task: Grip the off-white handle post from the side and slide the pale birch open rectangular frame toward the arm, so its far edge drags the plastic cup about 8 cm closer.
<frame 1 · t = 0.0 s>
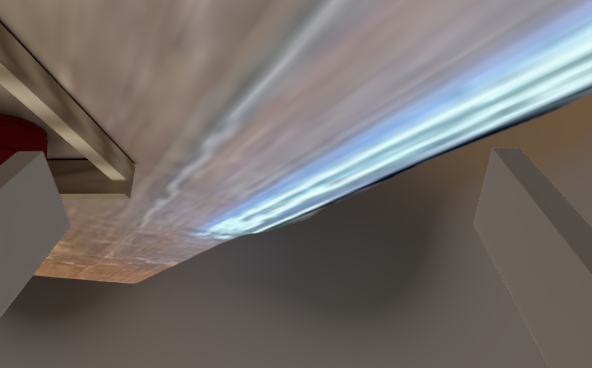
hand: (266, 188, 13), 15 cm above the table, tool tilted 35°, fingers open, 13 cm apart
plastic cup: (14, 126, 41), resting in open rectangular frame
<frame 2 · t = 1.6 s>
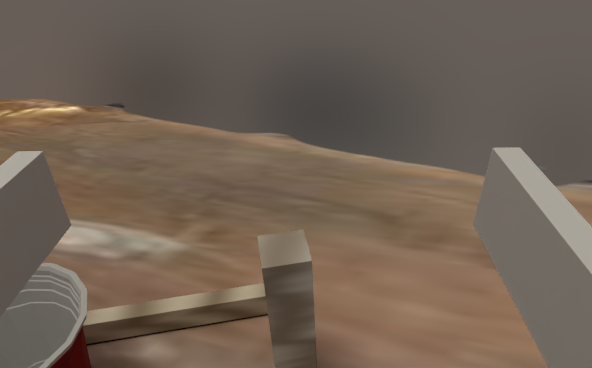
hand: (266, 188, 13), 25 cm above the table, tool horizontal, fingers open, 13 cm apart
open rectangular frame: (107, 353, 29), point 7 cm above the table, slide at 0.0 cm
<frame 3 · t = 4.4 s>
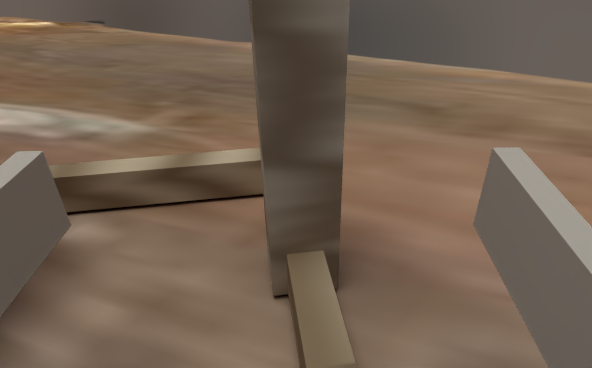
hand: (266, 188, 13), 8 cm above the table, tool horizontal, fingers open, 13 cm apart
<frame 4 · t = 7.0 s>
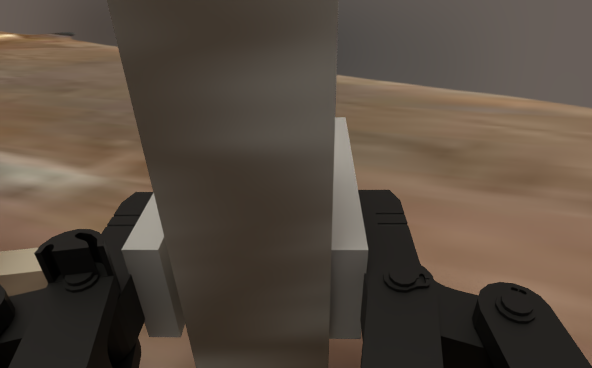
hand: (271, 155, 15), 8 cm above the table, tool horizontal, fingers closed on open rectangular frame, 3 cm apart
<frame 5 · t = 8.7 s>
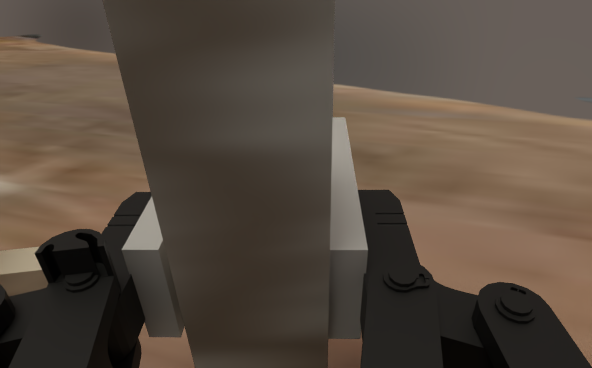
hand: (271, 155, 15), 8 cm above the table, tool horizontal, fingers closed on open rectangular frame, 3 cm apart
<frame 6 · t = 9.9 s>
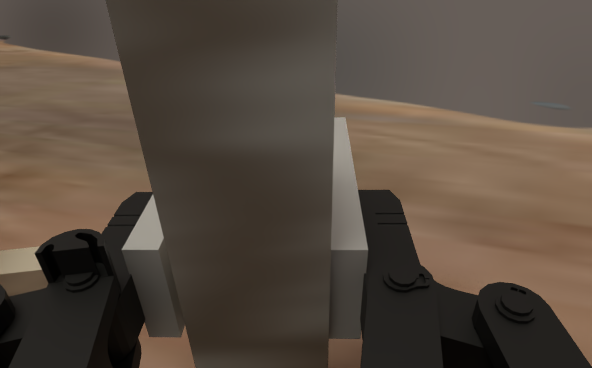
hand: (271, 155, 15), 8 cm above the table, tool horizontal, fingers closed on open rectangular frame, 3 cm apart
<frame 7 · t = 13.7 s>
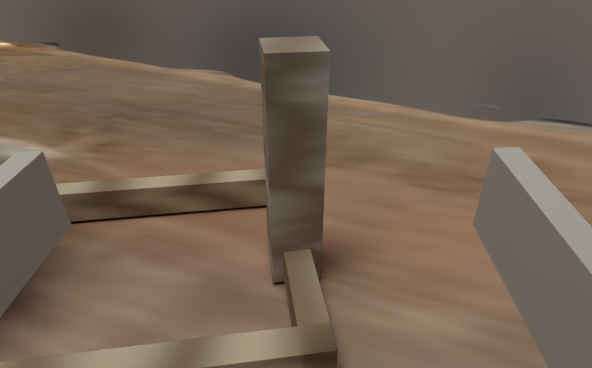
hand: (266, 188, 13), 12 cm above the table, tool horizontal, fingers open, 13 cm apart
open rectangular frame: (56, 188, 22), point 7 cm above the table, slide at 9.9 cm
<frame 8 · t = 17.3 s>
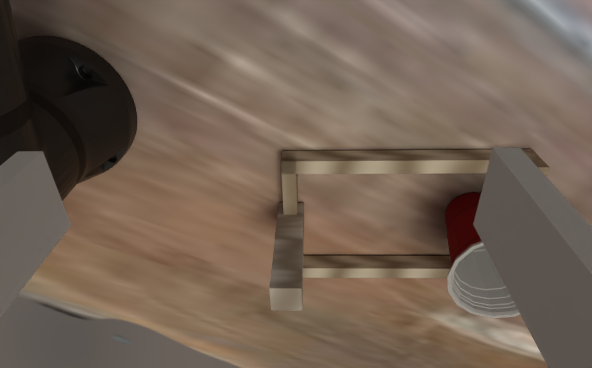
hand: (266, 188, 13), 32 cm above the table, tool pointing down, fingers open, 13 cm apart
open rectangular frame: (405, 250, 46), point 7 cm above the table, slide at 9.9 cm
plastic cup: (466, 209, 52), resting in open rectangular frame
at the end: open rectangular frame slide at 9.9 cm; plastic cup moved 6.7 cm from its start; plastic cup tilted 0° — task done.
